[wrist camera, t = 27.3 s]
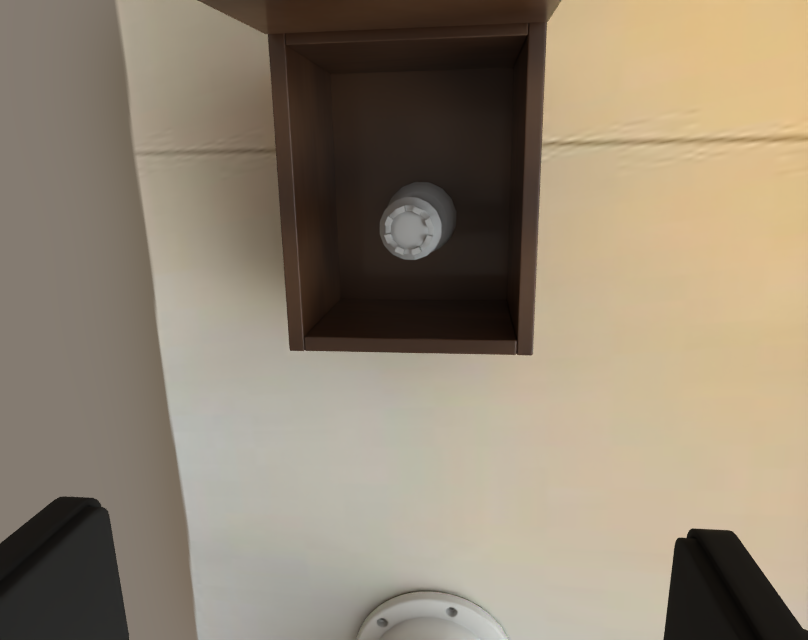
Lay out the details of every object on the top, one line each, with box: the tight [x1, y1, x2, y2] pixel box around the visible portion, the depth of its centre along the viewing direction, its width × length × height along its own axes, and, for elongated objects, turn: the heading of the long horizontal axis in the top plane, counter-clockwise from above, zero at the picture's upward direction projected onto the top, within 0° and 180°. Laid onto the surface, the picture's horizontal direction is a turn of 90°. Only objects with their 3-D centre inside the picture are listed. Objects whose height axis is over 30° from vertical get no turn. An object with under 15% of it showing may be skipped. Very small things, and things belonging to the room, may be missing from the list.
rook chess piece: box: [380, 182, 456, 260], centre depth 33 cm, size 4×4×8 cm
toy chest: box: [268, 22, 547, 355], centre depth 33 cm, size 16×13×10 cm
